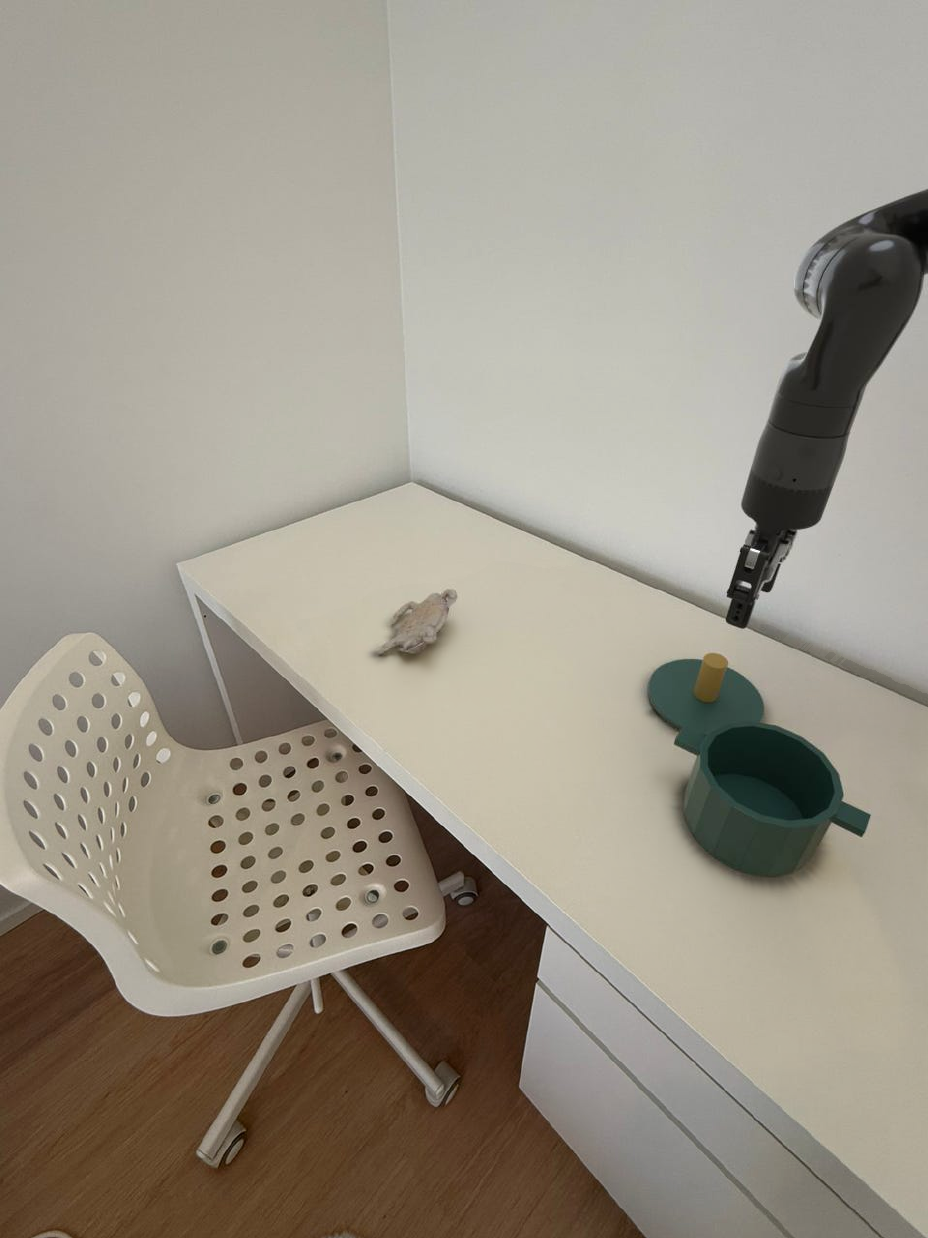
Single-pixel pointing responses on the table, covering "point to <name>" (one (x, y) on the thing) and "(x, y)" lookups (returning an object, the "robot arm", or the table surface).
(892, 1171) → the table surface
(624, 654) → the table surface
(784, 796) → the green cooking pot
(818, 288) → the robot arm
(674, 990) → the table surface
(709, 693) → the lid
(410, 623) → the turtle
